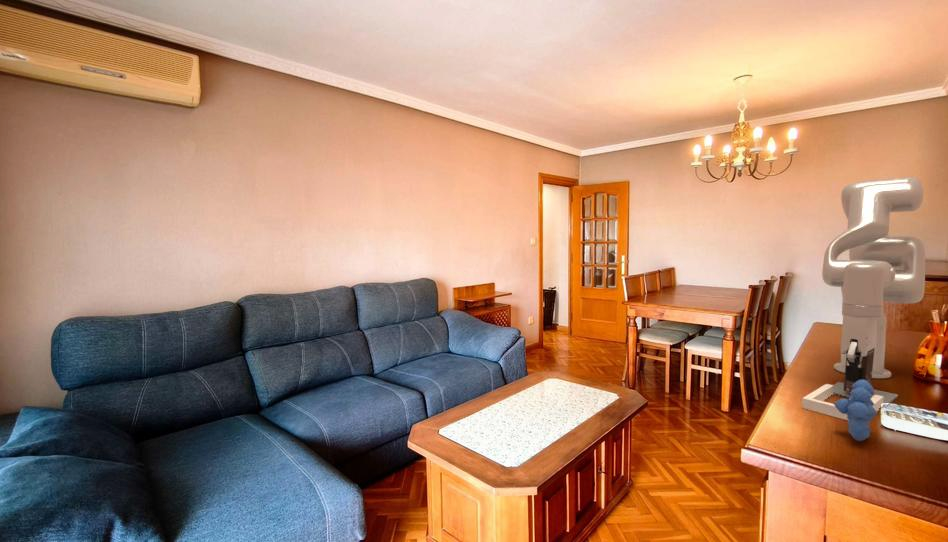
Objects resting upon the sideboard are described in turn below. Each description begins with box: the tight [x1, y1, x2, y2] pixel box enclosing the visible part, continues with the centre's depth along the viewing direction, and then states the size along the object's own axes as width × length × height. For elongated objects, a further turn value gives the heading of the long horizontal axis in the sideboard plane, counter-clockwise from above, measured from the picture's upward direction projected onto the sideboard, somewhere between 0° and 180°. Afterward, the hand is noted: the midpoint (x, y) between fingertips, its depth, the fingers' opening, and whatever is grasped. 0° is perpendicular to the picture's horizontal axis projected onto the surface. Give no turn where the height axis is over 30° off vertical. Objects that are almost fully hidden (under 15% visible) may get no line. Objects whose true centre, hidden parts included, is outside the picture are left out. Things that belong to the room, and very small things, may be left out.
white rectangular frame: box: [801, 383, 884, 422], centre depth 99 cm, size 16×11×2 cm, turn 123°
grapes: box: [833, 380, 878, 442], centre depth 85 cm, size 12×7×12 cm, turn 132°
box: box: [843, 347, 875, 393], centre depth 106 cm, size 6×4×12 cm
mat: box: [833, 381, 899, 404], centre depth 107 cm, size 11×12×1 cm
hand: (858, 378), depth 106 cm, fingers closed on box, 5 cm apart
